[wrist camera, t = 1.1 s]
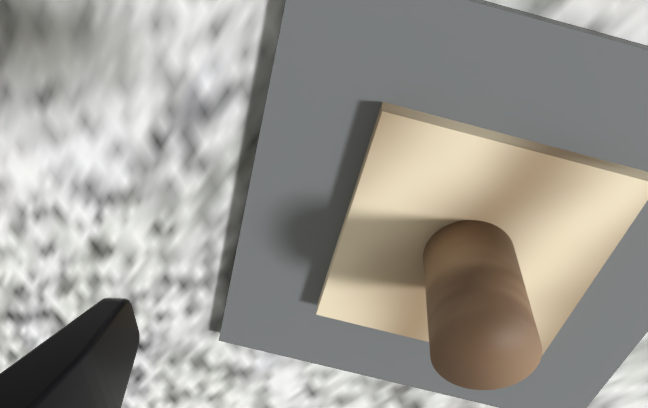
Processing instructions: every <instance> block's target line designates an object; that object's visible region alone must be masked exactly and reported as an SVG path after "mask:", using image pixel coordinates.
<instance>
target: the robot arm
mask: <svg viewBox="0 0 648 408" xmlns="http://www.w3.org/2000/svg"><path fill="white" fill-rule="evenodd" d="M138 345H139V330H138V326H137V323H136V319H135V315H134V312H133V308H132V305H131V303H130V301H129V300H127V299H123V298H105V299H103V300H101V301H99V302H98V303H97V304H95V305H94V306H93V307H91V308H90V309H88V310H87V311H86V312H84V313H83V314H82V315H80V316H79V317H77V318H76V319H75V320H73V321H72V322H71V323H69V324H68V325H66V326H65V327H64V328H62V329H61V330H60V331H58V332H57V333H55V334H54V335H53V336H51V337H50V338H49V339H47V340H46V341H44V342H43V343H42V344H40V345H39V346H38V347H36V348H35V349H33V350H32V351H31V352H29V353H28V354H27V355H25V356H24V357H22V358H21V359H20V360H18V361H17V362H16V363H14V364H13V365H11V366H10V367H9V368H7V369H6V370H5V371H3V372H2V373H0V408H121V405H122V402H123V398H124V395H125V391H126V388H127V384H128V381H129V377H130V374H131V370H132V367H133V363H134V360H135V356H136V353H137V349H138Z"/></svg>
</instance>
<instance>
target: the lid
mask: <svg viewBox="0 0 648 408" xmlns="http://www.w3.org/2000/svg"><path fill="white" fill-rule="evenodd" d="M647 200H648V172H647V171H643V170H639V169H635V168H631V167H628V166H624V165H620V164H616V163H613V162H609V161H605V160H601V159H597V158H594V157H590V156H586V155H582V154H579V153H575V152H571V151H567V150H563V149H560V148H556V147H552V146H548V145H545V144H541V143H537V142H533V141H529V140H526V139H522V138H518V137H514V136H510V135H507V134H503V133H499V132H495V131H492V130H488V129H484V128H480V127H476V126H473V125H469V124H465V123H461V122H458V121H454V120H450V119H446V118H442V117H439V116H435V115H431V114H427V113H424V112H420V111H416V110H412V109H408V108H405V107H401V106H397V105H393V104H390V103H386V102H382V105H381V108H380V111H379V114H378V117H377V120H376V123H375V127H374V130H373V133H372V136H371V139H370V142H369V145H368V148H367V151H366V155H365V158H364V161H363V164H362V167H361V170H360V173H359V176H358V179H357V182H356V186H355V189H354V192H353V195H352V198H351V201H350V204H349V207H348V210H347V213H346V217H345V220H344V223H343V226H342V229H341V232H340V235H339V238H338V241H337V245H336V248H335V251H334V254H333V257H332V260H331V263H330V266H329V269H328V272H327V276H326V279H325V282H324V285H323V288H322V291H321V294H320V297H319V300H318V305H317V312H316V315H320V316H324V317H328V318H332V319H336V320H341V321H345V322H349V323H353V324H357V325H361V326H365V327H369V328H373V329H378V330H382V331H386V332H390V333H394V334H398V335H402V336H406V337H410V338H415V339H419V340H423V341H427V342H429V348H430V359H431V362H432V365H433V367H434V369H435V370H436V371H437V373H438V374H439V375H440V376H441V377H443V378H444V379H445V380H447V381H448V382H450V383H452V384H454V385H457V386H460V387H463V388H467V389H473V390H495V389H501V388H505V387H508V386H511V385H514V384H516V383H518V382H520V381H522V380H524V379H525V378H526V377H528V376H529V375H530V374H531V373H532V372H533V371H534V370H535V369H536V368H537V366H538V364H539V363H540V360H541V357H542V355H543V354H544V352H545V351H546V349H547V348H548V346H549V345H550V344H551V342H552V341H553V339H554V338H555V336H556V335H557V333H558V332H559V330H560V329H561V327H562V326H563V324H564V323H565V321H566V320H567V318H568V317H569V316H570V314H571V313H572V311H573V310H574V308H575V307H576V305H577V304H578V302H579V301H580V299H581V298H582V296H583V295H584V293H585V292H586V290H587V289H588V287H589V286H590V285H591V283H592V282H593V280H594V279H595V277H596V276H597V274H598V273H599V271H600V270H601V268H602V267H603V265H604V264H605V262H606V261H607V259H608V258H609V256H610V255H611V254H612V252H613V251H614V249H615V248H616V246H617V245H618V243H619V242H620V240H621V239H622V237H623V236H624V234H625V233H626V231H627V230H628V228H629V227H630V226H631V224H632V223H633V221H634V220H635V218H636V217H637V215H638V214H639V212H640V211H641V209H642V208H643V206H644V205H645V203H646V202H647Z"/></svg>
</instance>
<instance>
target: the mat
mask: <svg viewBox="0 0 648 408" xmlns="http://www.w3.org/2000/svg"><path fill="white" fill-rule="evenodd" d="M382 102H386V103H390V104H393V105H397V106H401V107H405V108H408V109H412V110H416V111H420V112H424V113H427V114H431V115H435V116H439V117H442V118H446V119H450V120H454V121H458V122H461V123H465V124H469V125H473V126H476V127H480V128H484V129H488V130H492V131H495V132H499V133H503V134H507V135H510V136H514V137H518V138H522V139H526V140H529V141H533V142H537V143H541V144H545V145H548V146H552V147H556V148H560V149H563V150H567V151H571V152H575V153H579V154H582V155H586V156H590V157H594V158H597V159H601V160H605V161H609V162H613V163H616V164H620V165H624V166H628V167H631V168H635V169H639V170H643V171H647V172H648V46H646V45H642V44H639V43H635V42H632V41H628V40H624V39H621V38H617V37H614V36H610V35H606V34H603V33H599V32H595V31H592V30H588V29H585V28H581V27H577V26H574V25H570V24H567V23H563V22H559V21H556V20H552V19H548V18H545V17H541V16H538V15H534V14H530V13H527V12H523V11H520V10H516V9H512V8H509V7H505V6H501V5H498V4H494V3H491V2H487V1H483V0H286V2H285V7H284V12H283V17H282V22H281V27H280V32H279V37H278V43H277V48H276V53H275V58H274V63H273V68H272V73H271V78H270V83H269V88H268V93H267V98H266V103H265V108H264V114H263V119H262V124H261V129H260V134H259V139H258V144H257V149H256V154H255V159H254V164H253V169H252V174H251V179H250V185H249V190H248V195H247V200H246V205H245V210H244V215H243V220H242V225H241V230H240V235H239V240H238V245H237V250H236V256H235V261H234V266H233V271H232V276H231V281H230V286H229V291H228V296H227V301H226V306H225V311H224V316H223V321H222V327H221V332H220V337H219V341H223V342H227V343H231V344H235V345H240V346H244V347H248V348H252V349H256V350H261V351H265V352H269V353H273V354H277V355H281V356H286V357H290V358H294V359H298V360H302V361H307V362H311V363H315V364H319V365H323V366H328V367H332V368H336V369H340V370H344V371H348V372H353V373H357V374H361V375H365V376H369V377H374V378H378V379H382V380H386V381H390V382H395V383H399V384H403V385H407V386H411V387H415V388H420V389H424V390H428V391H432V392H436V393H441V394H445V395H449V396H453V397H457V398H462V399H466V400H470V401H474V402H478V403H483V404H487V405H491V406H495V407H499V408H586V407H587V406H588V405H589V404H590V402H591V401H592V400H593V399H594V398H595V396H596V395H597V394H598V393H599V391H600V390H601V389H602V388H603V386H604V385H605V384H606V383H607V381H608V380H609V379H610V378H611V376H612V375H613V374H614V373H615V371H616V370H617V369H618V368H619V366H620V365H621V364H622V363H623V361H624V360H625V359H626V358H627V356H628V355H629V354H630V353H631V352H632V350H633V349H634V348H635V347H636V345H637V344H638V343H639V342H640V340H641V339H642V338H643V337H644V335H645V334H646V333H647V332H648V200H647V202H646V203H645V205H644V206H643V208H642V209H641V211H640V212H639V214H638V215H637V217H636V218H635V220H634V221H633V223H632V224H631V226H630V227H629V228H628V230H627V231H626V233H625V234H624V236H623V237H622V239H621V240H620V242H619V243H618V245H617V246H616V248H615V249H614V251H613V252H612V254H611V255H610V256H609V258H608V259H607V261H606V262H605V264H604V265H603V267H602V268H601V270H600V271H599V273H598V274H597V276H596V277H595V279H594V280H593V282H592V283H591V285H590V286H589V287H588V289H587V290H586V292H585V293H584V295H583V296H582V298H581V299H580V301H579V302H578V304H577V305H576V307H575V308H574V310H573V311H572V313H571V314H570V316H569V317H568V318H567V320H566V321H565V323H564V324H563V326H562V327H561V329H560V330H559V332H558V333H557V335H556V336H555V338H554V339H553V341H552V342H551V344H550V345H549V346H548V348H547V349H546V351H545V352H544V354H543V355H542V357H541V360H540V363H539V364H538V366H537V368H536V369H535V370H534V371H533V372H532V373H531V374H530V375H529V376H528V377H526V378H525V379H524V380H522V381H520V382H518V383H516V384H514V385H511V386H508V387H505V388H501V389H495V390H473V389H467V388H463V387H460V386H457V385H454V384H452V383H450V382H448V381H447V380H445V379H444V378H443V377H441V376H440V375H439V374H438V373H437V371H436V370H435V369H434V367H433V365H432V362H431V359H430V348H429V342H427V341H423V340H419V339H415V338H410V337H406V336H402V335H398V334H394V333H390V332H386V331H382V330H378V329H373V328H369V327H365V326H361V325H357V324H353V323H349V322H345V321H341V320H336V319H332V318H328V317H324V316H320V315H316V312H317V305H318V300H319V297H320V294H321V291H322V288H323V285H324V282H325V279H326V276H327V272H328V269H329V266H330V263H331V260H332V257H333V254H334V251H335V248H336V245H337V241H338V238H339V235H340V232H341V229H342V226H343V223H344V220H345V217H346V213H347V210H348V207H349V204H350V201H351V198H352V195H353V192H354V189H355V186H356V182H357V179H358V176H359V173H360V170H361V167H362V164H363V161H364V158H365V155H366V151H367V148H368V145H369V142H370V139H371V136H372V133H373V130H374V127H375V123H376V120H377V117H378V114H379V111H380V108H381V105H382Z"/></svg>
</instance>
